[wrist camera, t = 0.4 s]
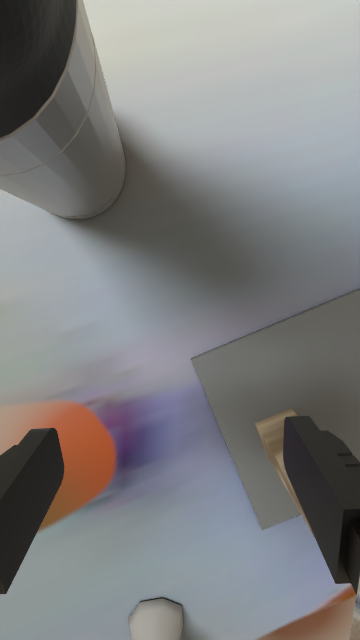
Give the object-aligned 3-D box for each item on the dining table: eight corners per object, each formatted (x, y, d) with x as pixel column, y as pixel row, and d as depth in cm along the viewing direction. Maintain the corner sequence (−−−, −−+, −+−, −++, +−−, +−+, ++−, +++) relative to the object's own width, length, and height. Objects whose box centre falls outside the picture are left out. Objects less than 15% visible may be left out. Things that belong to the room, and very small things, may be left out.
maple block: (254, 423, 32) (312, 517, 20) (290, 408, 32) (370, 492, 20) (266, 454, 33) (328, 561, 21) (301, 439, 33) (383, 538, 21)
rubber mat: (190, 358, 30) (191, 359, 30) (382, 278, 30) (386, 279, 30) (260, 527, 36) (262, 530, 35) (424, 458, 36) (426, 460, 35)
